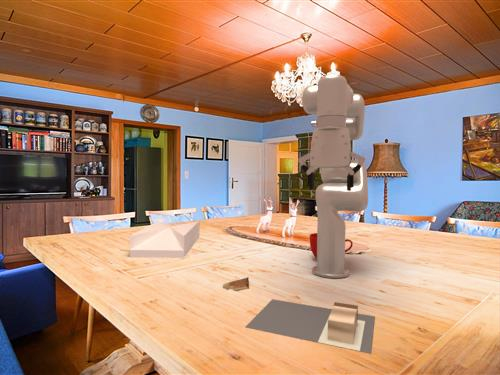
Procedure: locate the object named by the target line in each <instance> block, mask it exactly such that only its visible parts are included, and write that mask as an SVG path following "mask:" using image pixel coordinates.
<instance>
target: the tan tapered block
mask: <svg viewBox="0 0 500 375" xmlns="http://www.w3.org/2000/svg"><path fill="white" fill-rule="evenodd" d="M331 309H332V311H331V313H330V316H329V318H328V339H329V340H334V341H339V342H344V343H349V344H353V342H354V337H355V332H356V327H357V322H358V314H359V311H358V310H359V305H357V304H356V305H355V304H350V303H349V304H348V303H344V302H337V301H334V303H333V305H332V308H331Z"/></svg>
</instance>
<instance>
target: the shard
mask: <svg viewBox="0 0 500 375" xmlns="http://www.w3.org/2000/svg"><path fill="white" fill-rule="evenodd" d="M222 288H223V289H226V290H228V291H229V290H232V291H235V292H237V291H241V290H249V289H250V280H249V276H247V277H244V278H241V279H236V280H233V281H229V282H226V283H223V284H222Z"/></svg>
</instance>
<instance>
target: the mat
mask: <svg viewBox="0 0 500 375" xmlns="http://www.w3.org/2000/svg"><path fill="white" fill-rule="evenodd" d="M332 309H333V308H328V307H327V308H326V307H322V306H315V305H309V304H305V303H304V304H303V303H298V302H293V301H292V302H291V301H285V300H279V299H274V298H273V299H271V300H270V301H269V302H268V303H267V304H266V305H265V306H264V307H263V308H262V309H261V310H260V311H259V312H258V313H257V314H256V315H255V316H254V317H253V318H252V319H251V320H250V322H248V324H246V325H245V328H246V329H252V330H256V331H259V332H260V331H261V332H265V333H271V334H275V335H280V336H284V337H289V338H293V339H299V340H304V341H307V342H308V341H309V342H312V343H318V344H322V345H327V346H331V347H337V348H341V349H346V350H349V351H351V350H352V351H356V352H360V353H365V354H370V355H372V349H373V343H374V342H373V341H374V333H375V331H374V330H375V325H376V324H375V322H376V316H375V315H368V314H363V313H358V322H357V327H356V332H355V337H354V342H353V344H349V343H344V342H339V341H334V340H329V339H328V318H329V316H330V313H331V311H332Z"/></svg>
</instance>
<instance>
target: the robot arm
mask: <svg viewBox="0 0 500 375" xmlns="http://www.w3.org/2000/svg"><path fill="white" fill-rule="evenodd" d="M301 104H302V108H303V110H304V111H305V113H306V114H308V115H313V116H316V118H315V119H316V120H314V121H311V123H310V124H311V127H313V128H315V129H314V130H313V131H312V136H311V143H310V150H309V151H310V152H308V153H307V154H305V155H303V156H301V157H299V158H298V159H297V161H298V163H299V165H300V168H301V169H302V170H303V171H304V172H305V173H306V175H307V187H309V190H310V191H313V190H315V184H316V182H315V180H316V175H315V174H314V173H315V172H316V170H318V169H321V171H320V177H321V181H322V183H321V184H320V185H318V186H317V187H316V190H315V196H314V197H315V202H316V212H317V214H316V217H317V259H316V265H315V266H313V267H312V273H313V274H314V275H316V276H317V277H318V276H319V277H322V278H326V279H343V278H347V277H349V275H350V271H349V269H347V268H346V267H345V266H346V264H345V262H346V257H345V256H346V252H345V250H346V242H345V240H346V227H347V226H346V221H345V220H344V218H343V217H342V216H341V215H340V214H339V212H342V211H343V212H362V211H365V210H366V209H367V207H368V204H369V185H368V172H367V166H366V164H365V162H366V160H367V159H366V158H365V157H364V156H363V155H359V154H358V153H356V152H353V151H352V145H351V141H358V140H359V139H361V138H362V136H363V132H364V124H365V123H364V121H365V112H366V109H365V108H366V105H365V100H364V98H363V96H362V95H361V94H360V93H354V89H352V87H351V86H350V84H348V80H347V79H346V77H345V76H344V75H343V76H342V75H341V74H329V75H324V76H322V77H321V78H319V80H318V81H317V84H315V85H308V86H306V87H305V88H304V89H303V91H302V96H301ZM352 158H353V159H352ZM308 160H309V164H310V167H309V166H308V165H307V164H306V161H308Z"/></svg>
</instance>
